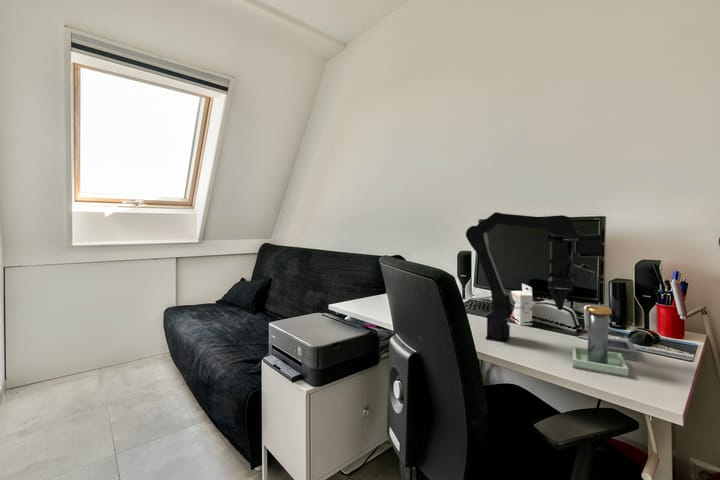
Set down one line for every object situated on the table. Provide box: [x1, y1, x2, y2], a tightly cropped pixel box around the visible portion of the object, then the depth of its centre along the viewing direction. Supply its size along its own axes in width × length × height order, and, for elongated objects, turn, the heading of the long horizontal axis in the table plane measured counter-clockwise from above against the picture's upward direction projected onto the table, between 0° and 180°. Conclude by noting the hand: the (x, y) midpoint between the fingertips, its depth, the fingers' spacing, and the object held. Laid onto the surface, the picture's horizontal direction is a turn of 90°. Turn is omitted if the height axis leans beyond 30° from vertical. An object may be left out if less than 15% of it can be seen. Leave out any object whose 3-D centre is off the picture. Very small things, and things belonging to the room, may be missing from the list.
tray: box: [571, 345, 629, 379], centre depth 91 cm, size 12×12×2 cm
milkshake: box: [583, 302, 601, 332], centre depth 119 cm, size 4×5×10 cm
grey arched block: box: [532, 300, 583, 333], centre depth 126 cm, size 17×5×10 cm, turn 28°
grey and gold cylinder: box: [585, 305, 612, 365], centre depth 90 cm, size 6×6×15 cm
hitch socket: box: [608, 338, 639, 362], centre depth 99 cm, size 10×10×2 cm
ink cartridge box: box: [510, 283, 534, 326], centre depth 130 cm, size 9×5×15 cm, turn 179°
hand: (560, 306), depth 103 cm, fingers open, 9 cm apart
